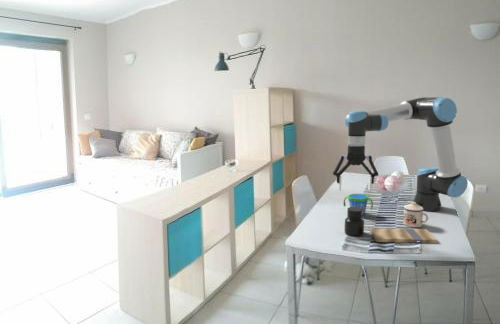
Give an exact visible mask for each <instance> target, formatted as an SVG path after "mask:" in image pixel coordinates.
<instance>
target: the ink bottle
mask: <svg viewBox="0 0 500 324" xmlns="http://www.w3.org/2000/svg"><path fill="white" fill-rule="evenodd" d="M344 233H345V235H348V236H350V237H362V236H364V234H365V220H364V218H363V215H362V209H361V208H358V207H350V206H349V207H347V217H345V219H344Z"/></svg>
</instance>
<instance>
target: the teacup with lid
mask: <svg viewBox="0 0 500 324" xmlns="http://www.w3.org/2000/svg"><path fill="white" fill-rule="evenodd" d="M423 210H424V209H423V207H421V206H419V205H417V204H416V202H413V201H412V202H411V203H409V204H405V205H403V222H402V223H403V225H404V226H406V227H409V228H420V227H422V226H423V224H425V223H427V222H428V220H429V216H428V214H427V213H425V212H424V211H423ZM424 216H425V220H424V221H423V217H424Z"/></svg>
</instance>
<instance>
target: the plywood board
mask: <svg viewBox="0 0 500 324" xmlns="http://www.w3.org/2000/svg"><path fill="white" fill-rule="evenodd" d="M369 232H370V234H371V236H372V237H373V239H374V240H375V242H377V243H408V242H417V241H420V242H421V243H420V244H422V243H423V244H438V239H437V238H436V237H435V236H434V235H433V234H432V233H431V232H430V231H429V230H428V229H426V228H386V227H385V228H383V227H382V228H379V227H377V228H375V227H370V228H369Z"/></svg>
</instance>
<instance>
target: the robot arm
mask: <svg viewBox="0 0 500 324" xmlns="http://www.w3.org/2000/svg"><path fill="white" fill-rule="evenodd" d="M457 113H458V109H457V104H456V103H455V101H454V100H453V99H452V98H449V97H443V96H440V97H438V96H437V97H425V96H424V97H417V98H413V99H409V100H405V101H402V102H401V103H399V104H397V105H392V106H386V107H381V108H377V109H372V110H367V111H365V110H352V111H350V112H349V113H348V114H347V115H346V117H345V118H344V124H345V126H346V127H347V128H348V132H347V133H348V136H347V137H348V138H347V144H348V146H347V154H346V155H343V154H342V155H340V157H339V161H338V162H337V165H336V166H335V168H334V169H333V171H332V175H333V176H335V177H336V183H337V184H338V191H340V192H341V191H342V176H341V175H342V174H344V172H345V171H346V170H347V169H348V168H349V167H350V166H362V167H363V168H364V169H365V170H366V172H367V173H368V174H369V175H368V184H367V185H368V187H367V190H368V191H369V192H372V185H373V184H374V182H375V178H376V176H377V177H378V176H379V172H378V170H377V168H376V165H375V164H374V161H373V157H372V155H370V154H369V155H365V154H366V146H365V144H366V132H381V131H384V130H387V128H388V126H389V122H394V121H395V122H396V121H398V120H405V121H407V120H420V121H421V120H422V121H426V126H427V127H428V128H429V129H430V130H431V136H432V141H433V146H434V153H435V159H436V165H437V166H436V167H421V168H419V169H418V170H417V175H416V192H415V196H414V198H413V200H412V202H416V204H417V205H419V206H421V207H423V209H424V210H423V212H424V211H425V212H438V211H442V203H441V199H440V194H442V195H445V196H448V197H451V198H458V197H459V198H460V197H461V196H462V195H463V194H464V193H465V192H466V190H467V187H468V179H467V177H465V176H464V175H462V172H461V170H460V168H458V167H457V162H456V156H455V150H454V143H453V137H452V129H451V125H452V124H453V121H454V119H455V118H456V115H457ZM346 160H347V161H346ZM365 160H367V161H368V163H369V165H370V167H371V169H372V171H373V172H372V171H371V170H370V169H369V167H368V166H367V165H366V164H365V162H364V161H365ZM344 161H346V163H345V164H344V165H343V166H342V164H343V163H344ZM341 166H342V167H341ZM340 168H341V169H340Z"/></svg>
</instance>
